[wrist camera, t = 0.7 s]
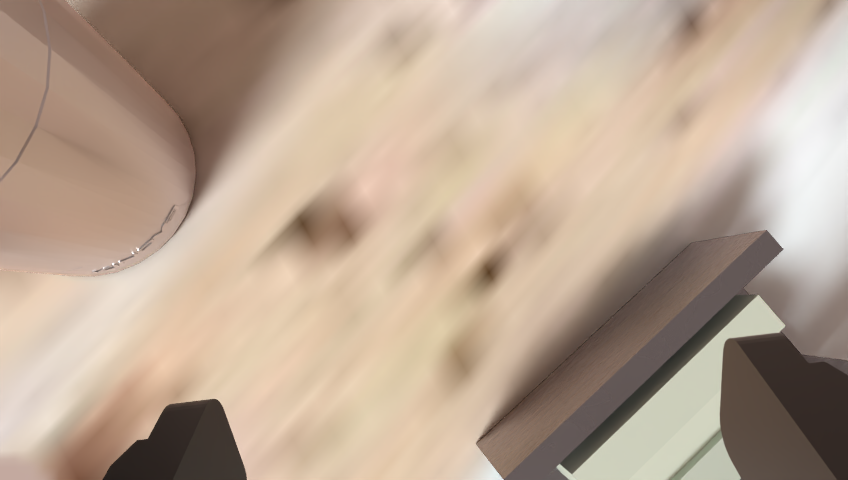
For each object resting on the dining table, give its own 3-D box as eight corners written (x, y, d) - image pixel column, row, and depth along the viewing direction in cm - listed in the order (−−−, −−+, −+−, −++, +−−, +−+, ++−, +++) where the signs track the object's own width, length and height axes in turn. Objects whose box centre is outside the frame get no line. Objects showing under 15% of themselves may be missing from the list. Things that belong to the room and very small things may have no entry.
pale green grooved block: (536, 444, 30) (571, 474, 25) (694, 295, 31) (758, 294, 26) (608, 526, 29) (658, 573, 25) (763, 373, 31) (840, 388, 26)
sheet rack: (475, 443, 30) (503, 479, 24) (691, 242, 32) (766, 230, 26) (664, 661, 30) (738, 750, 24) (870, 447, 32) (987, 481, 26)
